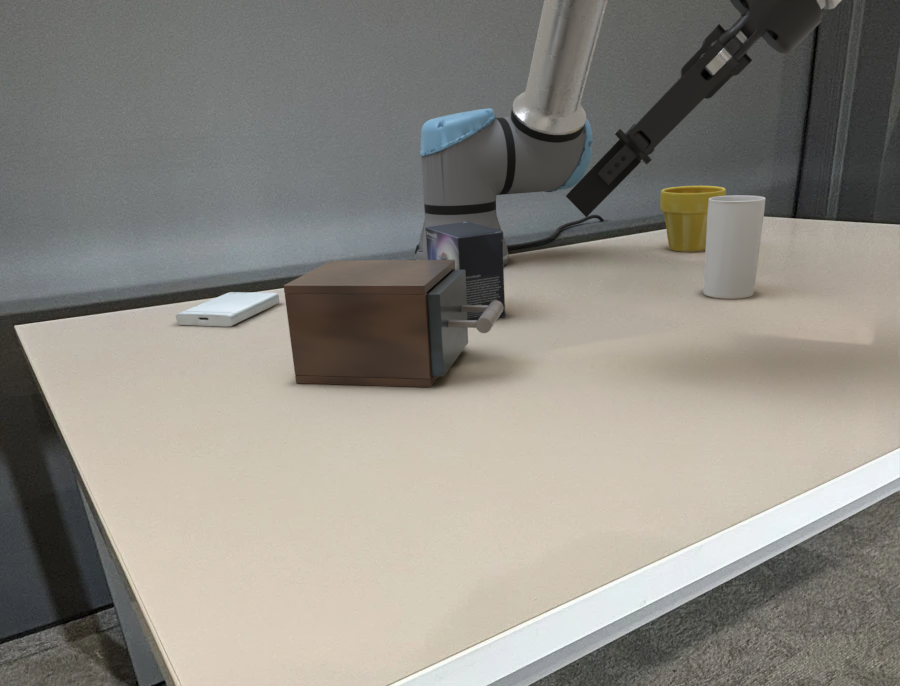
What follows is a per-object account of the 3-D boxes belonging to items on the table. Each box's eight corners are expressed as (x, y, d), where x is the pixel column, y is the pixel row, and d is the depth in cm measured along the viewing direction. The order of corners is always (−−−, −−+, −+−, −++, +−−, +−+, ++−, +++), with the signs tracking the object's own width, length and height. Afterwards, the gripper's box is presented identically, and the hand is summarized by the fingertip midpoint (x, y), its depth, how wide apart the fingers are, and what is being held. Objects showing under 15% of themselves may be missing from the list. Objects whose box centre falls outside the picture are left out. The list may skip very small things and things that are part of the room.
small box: (426, 307, 105) (422, 225, 100) (471, 300, 107) (468, 220, 103) (459, 324, 96) (455, 235, 91) (507, 316, 98) (506, 229, 94)
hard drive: (226, 291, 112) (174, 312, 101) (278, 292, 110) (230, 313, 99) (228, 303, 113) (176, 325, 102) (280, 304, 111) (232, 327, 100)
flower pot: (683, 256, 129) (688, 193, 125) (645, 248, 138) (648, 189, 134) (734, 249, 133) (740, 188, 129) (693, 241, 142) (697, 184, 138)
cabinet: (458, 349, 86) (455, 259, 82) (430, 387, 75) (424, 285, 71) (340, 347, 89) (331, 260, 85) (295, 383, 78) (283, 285, 74)
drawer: (507, 343, 84) (506, 269, 81) (488, 377, 74) (486, 294, 70) (357, 341, 87) (350, 269, 84) (319, 373, 77) (309, 293, 74)
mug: (749, 301, 99) (759, 201, 95) (694, 297, 103) (702, 201, 98) (765, 285, 107) (775, 192, 102) (714, 282, 110) (722, 192, 106)
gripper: (843, 8, 57) (600, 247, 67) (812, 22, 68) (609, 224, 79) (773, -72, 56) (538, 183, 67) (754, -43, 68) (556, 170, 78)
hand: (576, 205), depth 73 cm, fingers closed
